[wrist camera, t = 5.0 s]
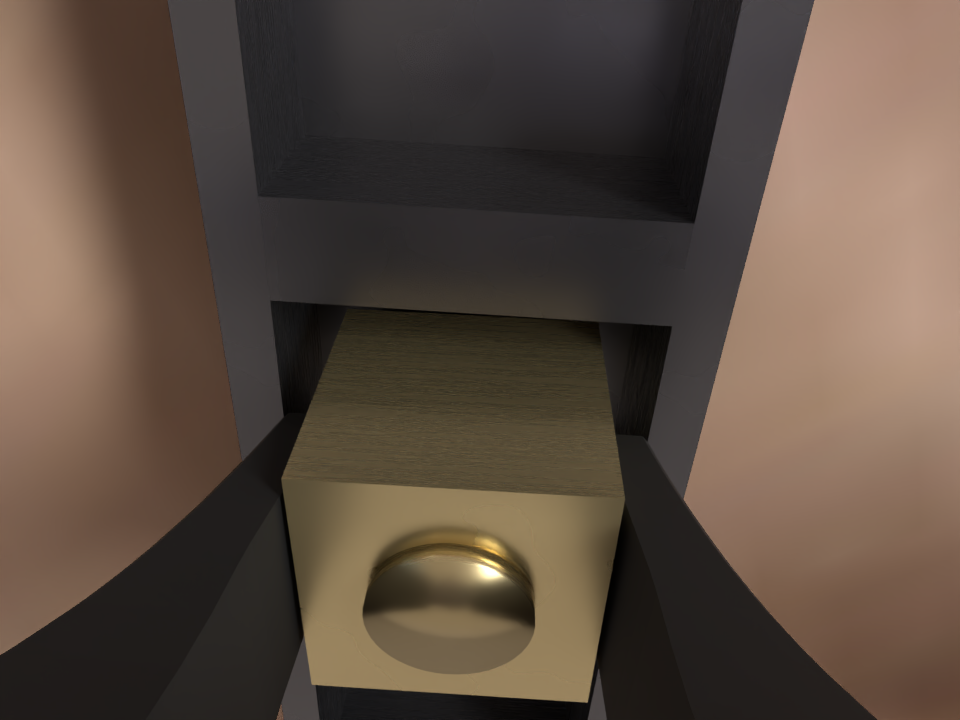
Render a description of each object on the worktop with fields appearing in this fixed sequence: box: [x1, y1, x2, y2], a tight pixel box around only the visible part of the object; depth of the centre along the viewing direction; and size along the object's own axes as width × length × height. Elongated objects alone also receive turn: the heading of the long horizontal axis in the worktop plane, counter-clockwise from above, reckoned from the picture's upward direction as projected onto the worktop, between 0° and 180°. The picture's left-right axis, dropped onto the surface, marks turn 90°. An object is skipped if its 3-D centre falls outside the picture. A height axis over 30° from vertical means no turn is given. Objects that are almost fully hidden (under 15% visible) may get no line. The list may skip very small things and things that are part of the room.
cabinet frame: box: [168, 0, 814, 720], centre depth 13 cm, size 7×22×3 cm, turn 177°
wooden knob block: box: [281, 309, 625, 703], centre depth 12 cm, size 4×4×4 cm
